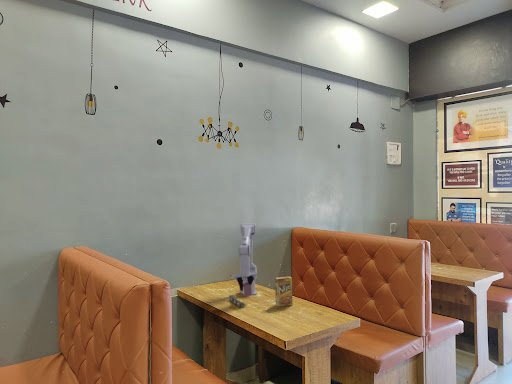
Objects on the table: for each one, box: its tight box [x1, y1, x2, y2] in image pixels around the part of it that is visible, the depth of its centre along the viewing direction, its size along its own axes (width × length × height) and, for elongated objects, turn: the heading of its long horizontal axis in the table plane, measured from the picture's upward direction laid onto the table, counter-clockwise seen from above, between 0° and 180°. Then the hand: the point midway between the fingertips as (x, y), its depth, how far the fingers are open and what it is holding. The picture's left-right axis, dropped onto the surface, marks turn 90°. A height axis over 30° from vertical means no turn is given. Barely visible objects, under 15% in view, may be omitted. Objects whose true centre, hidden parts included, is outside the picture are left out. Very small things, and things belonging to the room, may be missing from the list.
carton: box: [239, 282, 252, 297], centre depth 206 cm, size 4×8×6 cm, turn 24°
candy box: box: [274, 275, 294, 307], centre depth 200 cm, size 9×4×15 cm, turn 107°
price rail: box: [229, 295, 244, 309], centre depth 205 cm, size 18×2×2 cm, turn 24°
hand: (245, 289), depth 206 cm, fingers closed on carton, 4 cm apart
